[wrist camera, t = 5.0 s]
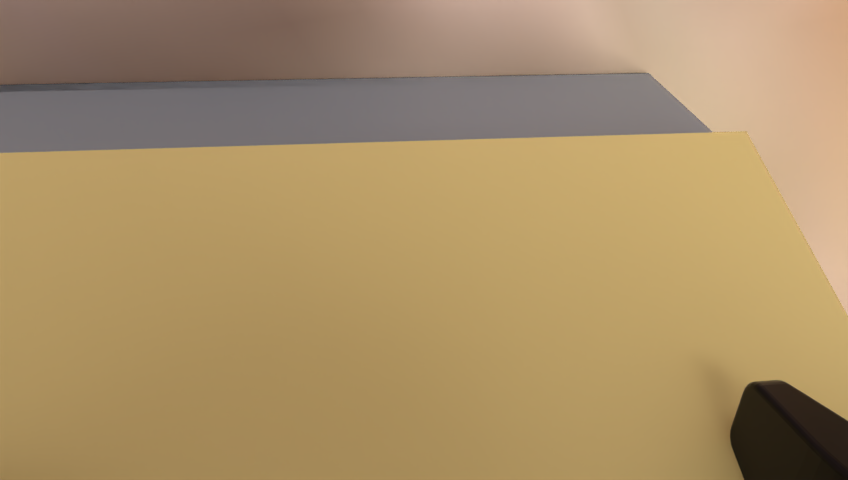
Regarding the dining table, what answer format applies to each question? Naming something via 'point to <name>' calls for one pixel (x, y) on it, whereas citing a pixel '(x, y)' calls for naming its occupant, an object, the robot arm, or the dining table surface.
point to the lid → (402, 309)
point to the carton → (334, 111)
